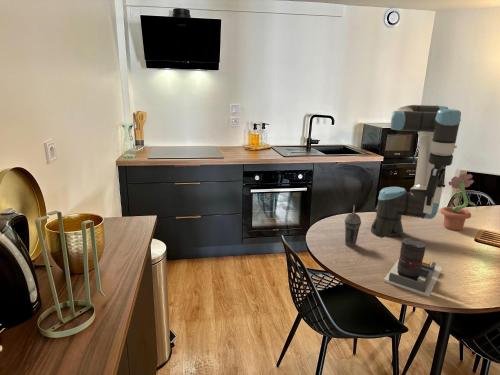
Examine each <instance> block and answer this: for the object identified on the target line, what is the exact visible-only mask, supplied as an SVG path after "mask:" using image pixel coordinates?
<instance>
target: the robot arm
mask: <svg viewBox="0 0 500 375" xmlns="http://www.w3.org/2000/svg"><path fill="white" fill-rule="evenodd" d="M461 116H462V112H461V111H460V110H459V109H452V108H451V109H450V108H449V107H448V106H445V105H444V106H443V105H438V104H437V105H428V104H427V105H422V104H412V105H410V104H409V105H405V106H401V107H399V108H397V109H396V110H393V111H392V114H391V119H390V126H389V127H390V130H394V131H406V132H407V131H408V132H417V134H418V136H419V138H420V139H419V147H418V155H417V162H416V163H417V164H416V170H415V177H414V185H413V186H412V187H411V188H410V189H409V190H410V191H407V190H406V188H404V187H400V186H389V187H383V188H382V189H381V190H380V191H379V195H378V198H377V199H378V200H377V201H378V202H377V208H376V209H377V210H376V216H375V218H374V220H373V222H372V223H371V227H370V232H371V233H372V234H373V235H375V236H377V237H380V238H384V237H387V238H402V237H403V235H404V229H403V228H404V227H403V223H402V216H405V217H412V218H418V219H419V218H420V219H426V220H432V219H434V218H435V217H436V215H437V213H438V210H439V207H440V203H441V198H442V192H443V188H445V187H446V184H445V183H446V182H445V180H446V179H445V178H446V168H447V167H449V166H451V165H452V164H453V159H454V155H453V154H454V152H455V149H457V148H458V147H457V145H456V142H457V137H458V132H459V127H460V125H461V124H460V123H461V119H462V118H461Z"/></svg>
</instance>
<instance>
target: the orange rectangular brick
mask: <svg viewBox="0 0 500 375" xmlns="http://www.w3.org/2000/svg"><path fill="white" fill-rule="evenodd" d="M431 262H432V261H431V260H427V259H424V258H423V260H422V264H425V265H429V266H430V264H432V263H431Z"/></svg>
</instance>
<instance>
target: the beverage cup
mask: <svg viewBox="0 0 500 375" xmlns="http://www.w3.org/2000/svg"><path fill="white" fill-rule="evenodd" d="M355 207H356V204H353V209H352V210H353V211H352V212H351V213H348V214H347V215H346V217H345V219H344V227H345V230H344V231H345V236H344V238H345V239H344V241H345V243H344V244H345V246H346V247H349V248H354V247H356V244H357V240H358V235H359V230H360V227H361V224H362V221H361V219H362V218H361V217H360V215H359V214H357V213H355V209H356V208H355Z"/></svg>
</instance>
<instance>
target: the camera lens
mask: <svg viewBox="0 0 500 375" xmlns="http://www.w3.org/2000/svg"><path fill="white" fill-rule="evenodd" d="M425 252H426V244H425V243H424V241H421V240H419V239H415V238H409V237H408V238H404V239H403V240H402V242H401V247H400V250H399V257H398V259H399V263H398V275H400V276H403V277H406V278H409V279H412V280H415V281H417V279H418V278H419V275H420V272H421V266H422V260H423V259H424V257H425Z"/></svg>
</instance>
